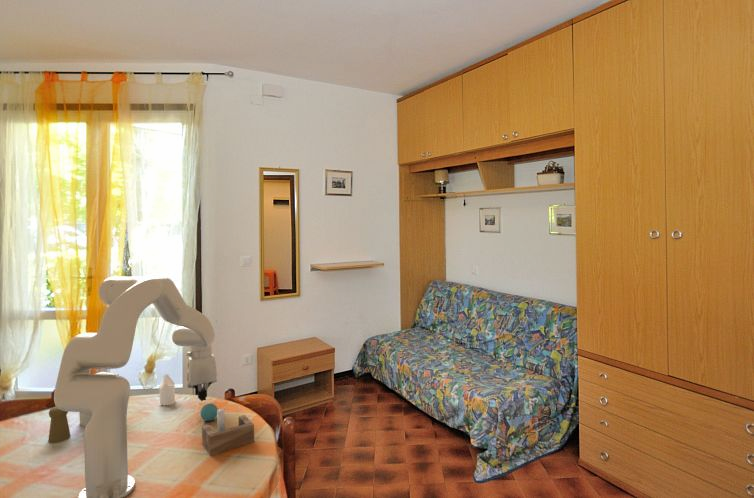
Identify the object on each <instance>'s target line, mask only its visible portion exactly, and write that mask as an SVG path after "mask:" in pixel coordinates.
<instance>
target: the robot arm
mask: <svg viewBox="0 0 754 498" xmlns="http://www.w3.org/2000/svg"><path fill="white" fill-rule="evenodd" d="M98 297H99V299H100V301H101V302H102V303H103V304H105V305H108V306H107V308H106V309H105V311H104V313H103V316H102V318H101V320H100V321H101V322H100V326H99V330H98V332H83V333H79V334H77V335H75V336H74V337H73V338H71V339H70V340H69V342H68V343H67V345H66V346H65V348H64V351H63V353H62V357H61V360H60V365H59V370H58V374H57V377H56V383H55V388H54V392H53V402H54V405H55V406H56V407H57V408H58V409H60V410H62V411H68V413H69V412H73V413H79V412H87V413H92V418H91V419H90V421H89V422H88V424H87V425H86V426H85V427H84V430H83V450H84V452H83V453H84V456H83V457H84V488H83V489H82V490H81V491H80V492H79V494H78V496H77V498H123V497H124V498H126V497H127V496H128V495H129V494H131V493H132V491H133V490H135V486H136V480H135V479H134V477H132V476H131V475H129V470H128V469H129V467H128V466H129V465H128V464H129V463H128V462H129V460H128V429H127V428H128V426H127V425H128V424H127V422H128V421H127V420H128V419H127V417H128V406H129V400H130V396H131V385H130V382H129V380H128V379H127V378H125V377H124V376H122V375H119V376H118V375H111V374H96V373H93V374H91V371H92V370H93V369H96V370H113V369H115V370H116V369H121V368H122V367H125V366H126V365H127V364H128V362H129V361H130V357H131V354H132V349H133V345H134V339H135V335H136V330H137V324H138V321H139V319H140V316H141V314H142V313H143V312H144V311H145V310H146V308H148V307H149V306H151V305H152V304H153V306H154V308H155V309H156V310H157V313H159V315H160V316H161V318H162V319H163V321H165V322H167V323H169V324H172V325H176V326H178V327H177V328H175V330H174V331H173V333H172V335H171V339H172V342H173V344H174V345H176V346H179V347H190V350H189V351H188V352H186V357H189V358H188V363H187V373H186V380H187V384H186V387H187V388H189V389H195V390H197V398H198V399H199V400H200V402H203V401H206V400H207V397H208V389H209V387H210V386H211V384H214V383H216V382H217V381H218V380H217V379H218V371H217V362H216V357H215V355H214V354H213V349H212V344H213V342H214V340H215V337H216V336H215V335H216V334H215V329H214V327H213V325H212V323H211V321H210V320H209V318H208V317H207V316H206V315H205V314H204V313H202V312H200V311H198V310H197V309H196V308H193V306H190V305H188V304H187V303H186V301H185V299H184V298H183V296H182V294H181V293H180V291H179V289H178V287H177V286H176V284H175V282H174V281H173V280H172V279H170V278H169V277H167V276H111V277H108V278H106V279H104V280H103V281H102V282H101V283H100V285H99V287H98Z"/></svg>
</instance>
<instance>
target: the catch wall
mask: <svg viewBox="0 0 754 498" xmlns="http://www.w3.org/2000/svg"><path fill="white" fill-rule="evenodd" d="M201 440H202V441H201V443H202V446H203V448H204V450H206V452H207V453H208V456H210V457H211V456H215V455H218V454H222V453H225V452H227V450H228V451H230V449H231V450H234V449H236V447H237V448H239V446H240V447H243V446H246V445H248V444H247V443H250V444H252V443H251V442H253V443H254V442H255V424H254V423H253V422H252V421H251V420H250V419H249V418H248V417H247V416H246V414H242V415H239V416H238V425H236V426H233V427H229V428H225V430H222V431H219V432H217V431H216V432H215V431H214V429H212V428H211V426H210V425H209V424H206V425H202V426H201ZM245 444H246V445H245ZM242 445H243V446H242ZM233 448H234V449H233Z"/></svg>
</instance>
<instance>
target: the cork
mask: <svg viewBox="0 0 754 498" xmlns="http://www.w3.org/2000/svg"><path fill="white" fill-rule="evenodd" d="M68 413H69V412H68V411H62V410H60V409H58V408H57V407H56V405H55V406H53V407H51V408H50V409H49V411H48V417H50V425H49V426H50V427H49V433H48V440H47V441H48V443H50V444H58V443H61V442H64V441H66V440H68V439H70V438H71V432H70V427H69V422H68V421H69V420H68V416H67V415H68Z"/></svg>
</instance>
